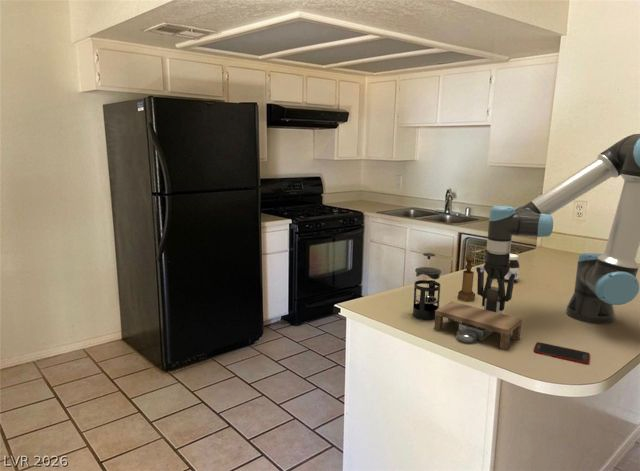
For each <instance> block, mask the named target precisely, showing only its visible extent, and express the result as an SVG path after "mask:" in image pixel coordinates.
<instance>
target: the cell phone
mask: <svg viewBox="0 0 640 471" xmlns="http://www.w3.org/2000/svg"><path fill="white" fill-rule="evenodd" d="M533 353H534V354H538V355H541V356H545V357H551V358H556V359H560V360H563V361H568V362H572V363H578V364H581V365H586V366H588V365H590V359H591V354H590V352H587V351H584V350H583V351H582V350H578V349H573V348H569V347H565V346H559V345H556V344H555V345H554V344H549V343H544V342H539V341H537V342H535V344H534V347H533Z"/></svg>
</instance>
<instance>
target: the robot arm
mask: <svg viewBox="0 0 640 471" xmlns="http://www.w3.org/2000/svg"><path fill="white" fill-rule="evenodd" d="M620 176H621V178H622V179H623V186H622V187H621V188H622V189H621V193H620V197H619V200H618V203H617V207H616V210H615V214H614V217H613V220H612V225H611V228H610V232H609V236H608V239H607V241H606V245H605V246H606V247H605V249H604V253H596V252H594V253H593V252H583V253H581V254H579V256H578V258H577V259H578V260H577V263H576V264H577V266H576V274H575V282H574V283H575V284H574V291H573V294H572V296H571V298H570V299H569V301H568V303H567V305H566V310H565V312H566V314H567V315H568V316H569V317H571V318H573V319H575V320H579V321H582V322H587V323H591V324H593V323H594V324H610V323H613V322H614V321H615V315H616V314H615V309H614V306H622V305H626V304H627V303H630V302H632V301H633V300H634V299H635V298H636V297H637V295H638V294H639V292H640V284H639V281H638V279H637V275H638V270H639V267H640V266H639V264H638V263H637V261H636V257H637V253H638V251H639V247H640V133H635V134H631V135H627V136H626V137H624V138H622V139H620V140H619V141H617V142H615V143H614V144H613V145H611V146H609V147H608V148H607V149H605V150H603V152H600V153H599V154H598V155H597V158H596V159H595V160H594V161H592V162H590V163H589V164H587V165H585V166H584V167H583V168H581V169H580V170H577V171H576V172H574V173H573V174H571V175H570V176H568V177H567V178H566V179H564V180H562V181H561V182H560V183H558V184H556V185H555V186H553V187H551V188H549V189H547V191H545V192H544V193H542V194H540V195H539V196H537V197H535V198H533V199H532V200H531V201H529V202H528V203H526V204H524V205H522V206H521V205H520V206H517V207H515V208H514V207H513V206H510V205H493V206H492V207H491V208H490V212H489V218H488V228H487V229H488V230H487V238H486V250H487V251H485V263H484V265H482V266H481V265H479V266H477V267H475V270H476V273H477V289H476V290H477V293H476V294H477V296H481V298H482V300H481V307H483V309H484V310H486V301H487V290H488V288H489V287H491V286H492V284H493V280H494V279H496V282H497V287H498V289H499V301H497V308H496V313H500V314H502V311H503V312H504V311H505V307H506V306H505V304H506V302H510V301H511V300H512V297H513V296H512V295H513V291H514V290H513V289H514V285H515V282H514V280H515V278H516V276H517V273H513V272H511V271H510V269H509V259H510V254H511V253H510V252H511V246H512V238H513V236H517V237H518V236H520V237H521V236H522V237H535V238H536V237H537V238H541V237H542V238H544V237H545V238H549V237H550V236H551V234H553V229H554V219H553V216H552V215H553V214H555V212H558V211H559V210H560V209H561V208H564V207H565V206H567V205H568V204H570V203H571V202H573V201H575V200H577V199H578V198H580V197H581V196H583V195H585V194H587V193H588V192H589V191H591V190H593V189H595V188H596V187H597V186H600V185H601V184H603V183H604V182H606V181H607V180H608V179H610V178H618V177H620ZM485 272H486V274H487V276H486V282H485ZM507 274H508V278H509V280H508V282H507V286H505V285H506V284H505V282H504V281H505V278H504V277H505V276H506V275H507ZM484 282H485V283H484ZM484 284H485V285H484Z"/></svg>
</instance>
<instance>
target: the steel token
mask: <svg viewBox="0 0 640 471" xmlns="http://www.w3.org/2000/svg"><path fill="white" fill-rule="evenodd" d="M476 337H477V335H476V334H475V333H474V332H472V331H467V330H461V331H459V330H458V331H457V332H456V341H457V340H458V341H457V342H459V343H461V344H465V345H466V344H467V345H469V344H470V345H473V344H476V342H477V338H476Z"/></svg>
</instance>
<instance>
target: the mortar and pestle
mask: <svg viewBox="0 0 640 471" xmlns="http://www.w3.org/2000/svg"><path fill="white" fill-rule="evenodd" d="M464 259H465V261H466V263H467V264H466V265H465V269H466V270H463V271H462V272H463V274H462V284H461V290H459V291H458V292H457V298H458V300H460V301H463V302H474V301H475V300H476V293H475V292H474V290H473V287H474V286H473V285H474V273H475V272H474V271H472V268H473V265H472V263H473V261H474V256H473V254H466V256H465V258H464Z"/></svg>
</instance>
